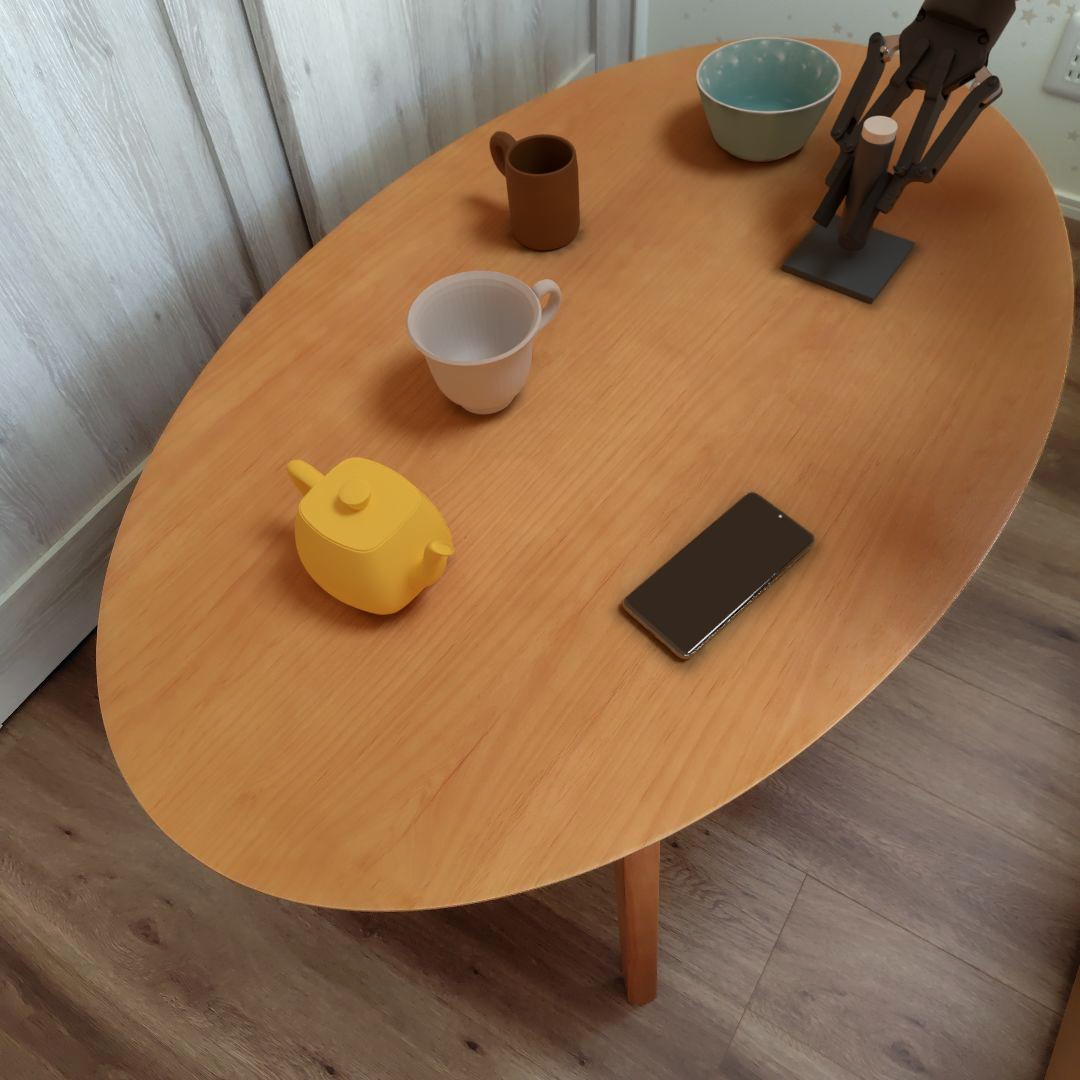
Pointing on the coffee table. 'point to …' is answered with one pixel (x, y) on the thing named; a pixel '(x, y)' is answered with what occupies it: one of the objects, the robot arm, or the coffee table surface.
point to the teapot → (368, 534)
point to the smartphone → (718, 574)
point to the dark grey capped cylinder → (866, 173)
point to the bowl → (766, 95)
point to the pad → (848, 261)
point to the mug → (539, 188)
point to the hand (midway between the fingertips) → (836, 231)
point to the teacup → (480, 334)
